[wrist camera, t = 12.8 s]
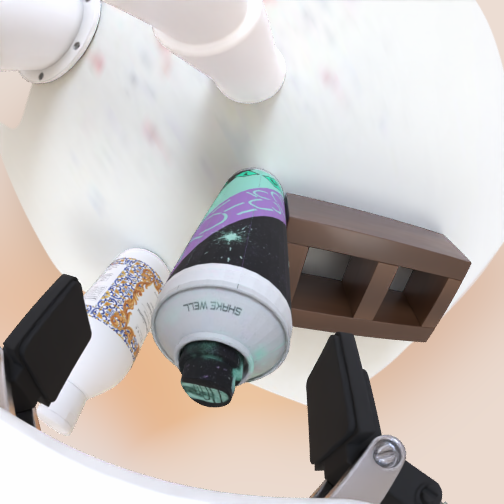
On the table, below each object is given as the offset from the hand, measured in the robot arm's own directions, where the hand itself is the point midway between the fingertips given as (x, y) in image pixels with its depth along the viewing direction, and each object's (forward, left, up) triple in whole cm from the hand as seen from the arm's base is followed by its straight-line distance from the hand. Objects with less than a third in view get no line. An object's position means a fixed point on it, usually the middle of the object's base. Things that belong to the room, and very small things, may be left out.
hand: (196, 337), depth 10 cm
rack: (+4, +12, -18) cm, 22 cm away
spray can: (0, +1, -18) cm, 18 cm away
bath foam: (+11, -10, -18) cm, 23 cm away
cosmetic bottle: (-11, -2, -18) cm, 21 cm away
